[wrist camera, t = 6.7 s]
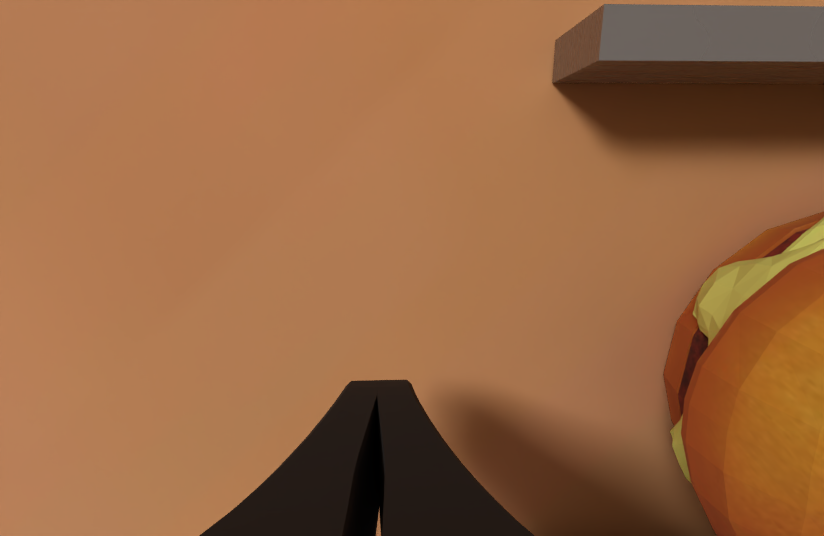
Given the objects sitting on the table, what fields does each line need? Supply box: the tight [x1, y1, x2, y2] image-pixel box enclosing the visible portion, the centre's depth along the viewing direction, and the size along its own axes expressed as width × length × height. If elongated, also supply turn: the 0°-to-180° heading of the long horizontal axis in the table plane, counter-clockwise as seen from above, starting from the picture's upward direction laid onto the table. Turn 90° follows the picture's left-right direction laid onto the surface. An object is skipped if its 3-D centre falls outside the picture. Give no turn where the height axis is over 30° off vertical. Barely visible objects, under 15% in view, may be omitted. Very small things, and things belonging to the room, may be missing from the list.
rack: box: [552, 4, 824, 84], centre depth 11 cm, size 17×15×3 cm
